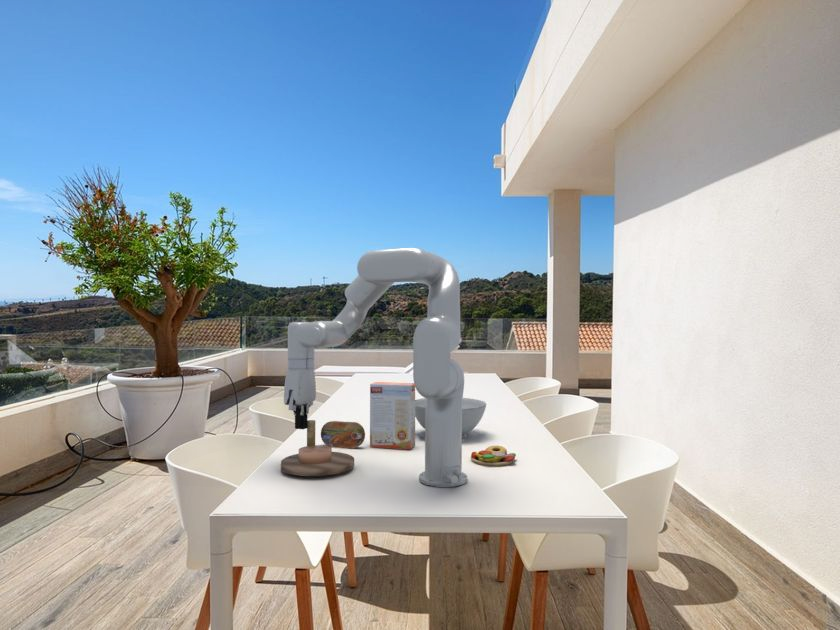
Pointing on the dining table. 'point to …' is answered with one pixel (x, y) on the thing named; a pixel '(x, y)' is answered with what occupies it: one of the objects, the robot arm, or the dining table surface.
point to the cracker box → (392, 415)
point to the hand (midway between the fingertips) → (301, 428)
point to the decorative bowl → (470, 413)
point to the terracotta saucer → (315, 454)
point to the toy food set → (493, 456)
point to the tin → (342, 434)
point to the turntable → (335, 466)
